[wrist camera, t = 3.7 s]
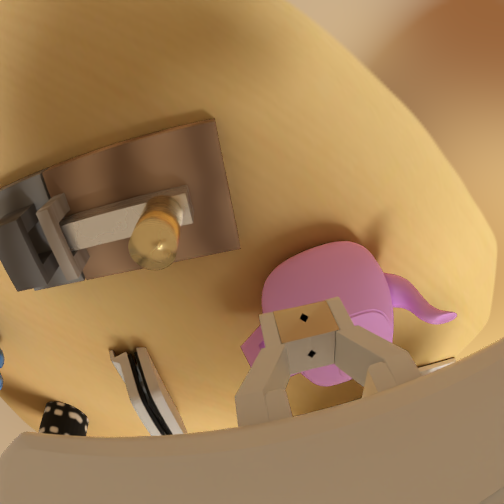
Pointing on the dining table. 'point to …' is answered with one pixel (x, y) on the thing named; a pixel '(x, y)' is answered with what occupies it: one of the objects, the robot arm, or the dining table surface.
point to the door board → (109, 191)
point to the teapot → (341, 296)
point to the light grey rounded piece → (148, 393)
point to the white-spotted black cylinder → (63, 420)
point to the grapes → (0, 363)
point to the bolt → (135, 225)
